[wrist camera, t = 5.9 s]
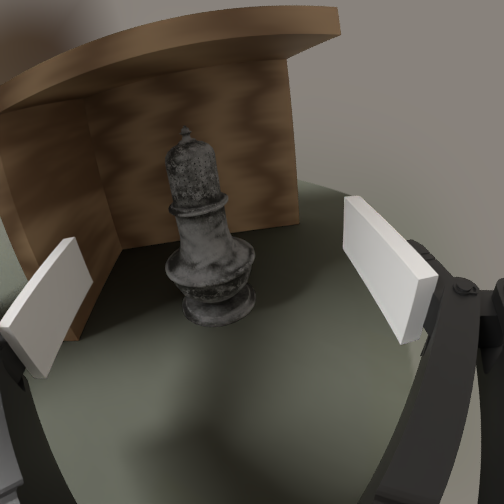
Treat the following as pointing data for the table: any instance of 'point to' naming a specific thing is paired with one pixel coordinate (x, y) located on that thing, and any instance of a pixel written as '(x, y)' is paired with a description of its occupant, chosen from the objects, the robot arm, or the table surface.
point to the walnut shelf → (151, 133)
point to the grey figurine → (206, 239)
